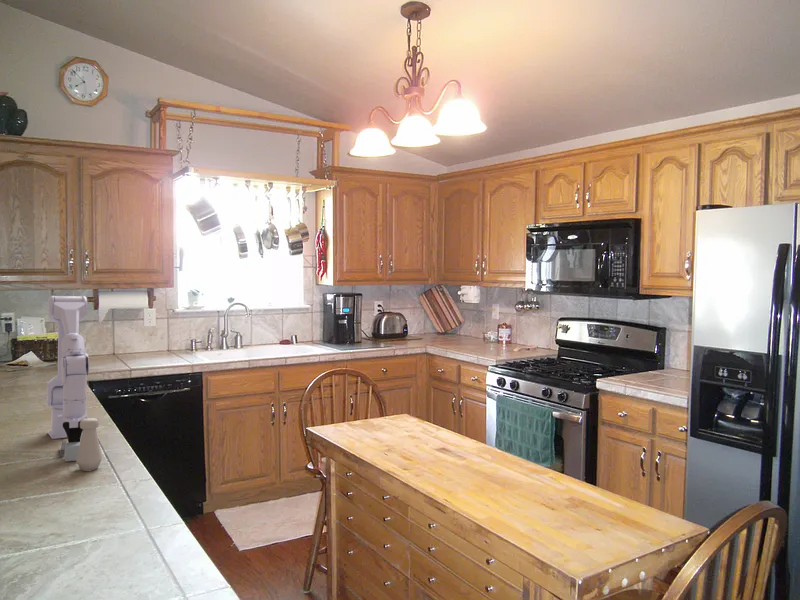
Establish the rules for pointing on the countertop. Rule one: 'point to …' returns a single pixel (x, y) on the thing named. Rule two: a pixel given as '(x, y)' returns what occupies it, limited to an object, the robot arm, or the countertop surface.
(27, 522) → the countertop surface
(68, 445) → the block
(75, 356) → the robot arm
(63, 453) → the grey flat bars
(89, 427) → the salt shaker
